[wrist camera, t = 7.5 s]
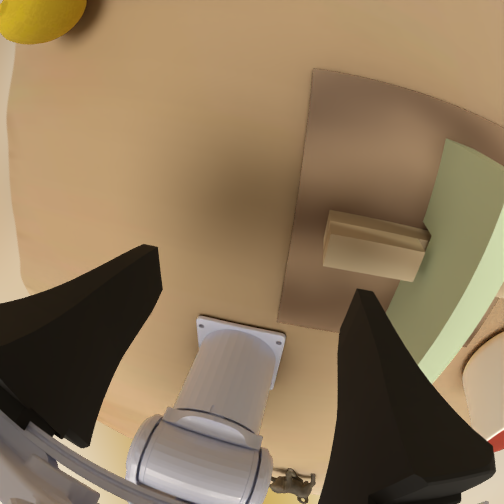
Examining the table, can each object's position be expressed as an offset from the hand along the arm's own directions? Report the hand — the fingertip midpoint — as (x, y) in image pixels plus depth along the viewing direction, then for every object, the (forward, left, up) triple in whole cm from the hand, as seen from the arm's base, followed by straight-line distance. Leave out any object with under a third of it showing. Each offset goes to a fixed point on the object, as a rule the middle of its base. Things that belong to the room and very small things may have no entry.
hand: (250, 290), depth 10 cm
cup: (-12, -26, -10) cm, 30 cm away
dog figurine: (-59, -11, -10) cm, 61 cm away
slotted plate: (-1, -10, -8) cm, 13 cm away
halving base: (-1, -10, -9) cm, 14 cm away
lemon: (+14, +16, -10) cm, 23 cm away
